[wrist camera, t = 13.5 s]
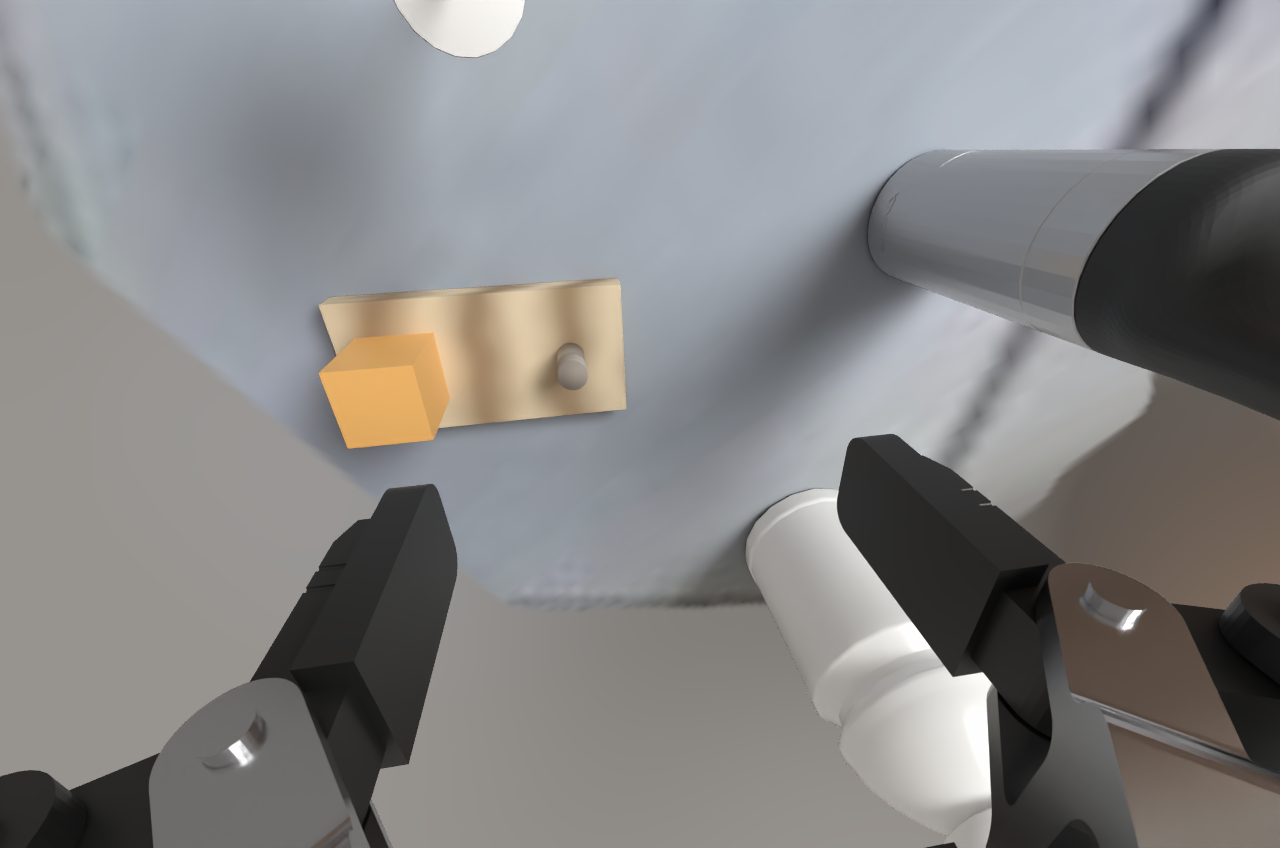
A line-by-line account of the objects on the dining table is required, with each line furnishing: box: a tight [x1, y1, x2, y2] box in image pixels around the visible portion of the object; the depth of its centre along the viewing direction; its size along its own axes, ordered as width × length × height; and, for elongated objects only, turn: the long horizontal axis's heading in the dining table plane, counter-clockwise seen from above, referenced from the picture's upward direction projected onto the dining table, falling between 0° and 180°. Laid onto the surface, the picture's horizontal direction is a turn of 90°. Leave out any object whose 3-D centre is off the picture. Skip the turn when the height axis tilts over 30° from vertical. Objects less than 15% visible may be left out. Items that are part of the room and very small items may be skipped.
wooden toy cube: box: [319, 333, 450, 449], centre depth 32 cm, size 5×5×6 cm
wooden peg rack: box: [319, 278, 626, 428], centre depth 35 cm, size 20×10×6 cm, turn 92°
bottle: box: [745, 489, 992, 848], centre depth 41 cm, size 14×14×28 cm
